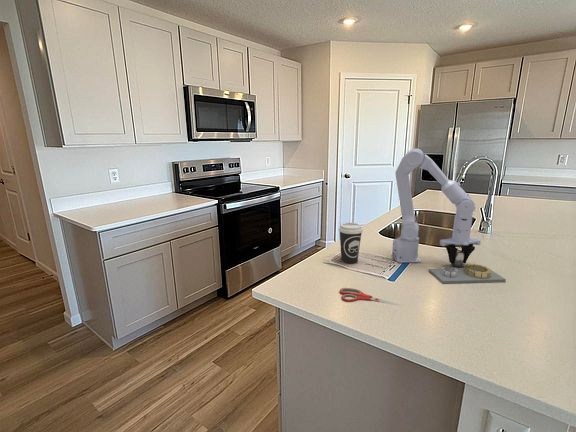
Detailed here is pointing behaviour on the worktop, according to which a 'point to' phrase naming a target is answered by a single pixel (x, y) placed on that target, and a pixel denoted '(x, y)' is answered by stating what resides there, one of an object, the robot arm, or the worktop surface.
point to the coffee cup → (350, 242)
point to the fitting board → (465, 277)
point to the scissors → (360, 296)
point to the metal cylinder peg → (458, 259)
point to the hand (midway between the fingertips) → (457, 262)
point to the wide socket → (484, 270)
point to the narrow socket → (449, 271)
